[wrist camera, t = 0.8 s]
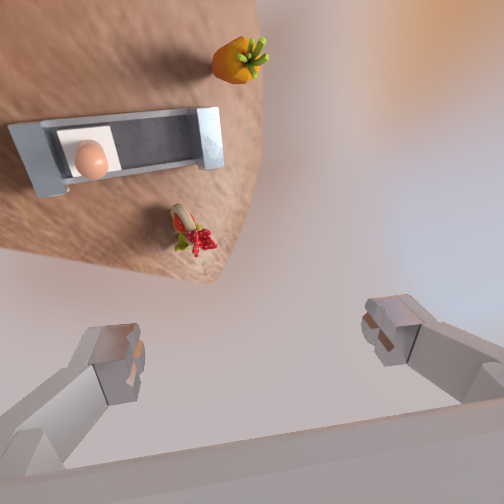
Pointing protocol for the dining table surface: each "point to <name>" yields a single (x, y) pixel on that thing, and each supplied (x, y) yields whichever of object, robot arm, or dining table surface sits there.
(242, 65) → the carrot
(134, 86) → the dining table surface
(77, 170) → the carriage
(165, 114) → the rail track
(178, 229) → the decorative toy figure
